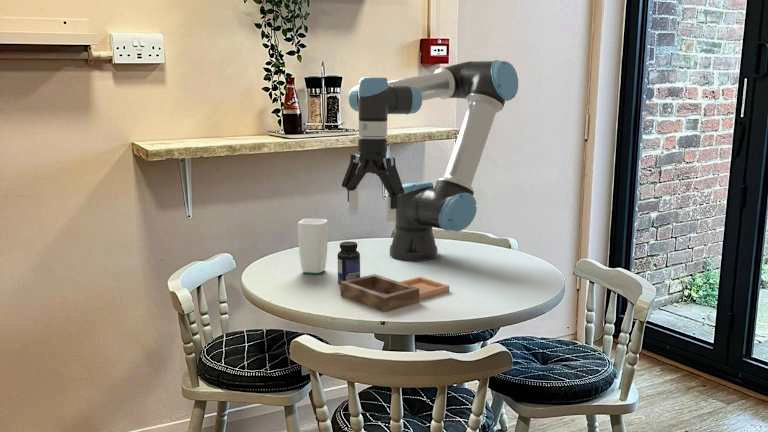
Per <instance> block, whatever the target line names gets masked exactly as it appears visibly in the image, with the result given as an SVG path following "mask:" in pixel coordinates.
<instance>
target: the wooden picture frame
mask: <svg viewBox="0 0 768 432" xmlns="http://www.w3.org/2000/svg"><path fill="white" fill-rule="evenodd" d="M339 286H340V296H342V297H344V298H347V299H349V300H351V301H354V302H357V303H358V304H359V303H360V304H361V305H362V304H363V305H365V306H367V307H370V308H373V309H374V310H375V309H376V310H377V311H380V312H384V313H386V312H389V311H393V310H396V309H400V308H403V307H407V306H410V305H414V304H418V303H420V300H419V288H416V287H413V286H410V285H407V284H404V283H401V281H398V280H396V279H391V278H388V277H385V276H381V275H378V274H376V273H374V274H373V273H372V274H370V275H365V276H360V278H356V279H352V280H348V281H343V282H340V283H339ZM375 290H376V291H375ZM380 292H381V293H380ZM383 293H384V294H383Z"/></svg>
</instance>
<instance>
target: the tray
mask: <svg viewBox="0 0 768 432" xmlns="http://www.w3.org/2000/svg"><path fill="white" fill-rule="evenodd" d="M400 282H401V283H404V284H407V285H410V286H413V287H416V288H419V301H421V300H425V299H429V298H432V297H436V296H439V295H442V294H445V293H449V292H450V285H448V284H446V283H442V282H439V281H435V280H432V279H429V278H426V277H422V276H418V277H413V278H409V279H406V280H402V281H400Z"/></svg>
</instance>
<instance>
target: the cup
mask: <svg viewBox="0 0 768 432" xmlns="http://www.w3.org/2000/svg"><path fill="white" fill-rule="evenodd" d="M328 222H329V221H328V220H327V219H326V218H303V219H301V220H299V221H298V222H297V232H298V235H297V237H298V238H297V239H298V251H299V252H298V253H299V261H300V267H301V272H303V273H305V274H314V275H315V274H316V275H317V274H321V273H323V272H324V270H325V269H326V264H327V257H328V243H329V242H328V239H329V238H328V235H329V234H328V233H329V232H328V230H329V229H328V228H329V227H328Z"/></svg>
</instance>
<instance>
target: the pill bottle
mask: <svg viewBox="0 0 768 432" xmlns="http://www.w3.org/2000/svg"><path fill="white" fill-rule="evenodd" d="M339 248H340V251H338V253H337V283H338V284H340V282H343V281H348V280H352V279H356V278H360V277H361V253H360V252H359V251H358V250H357V249H358V242H356V241H342V242H340V243H339Z"/></svg>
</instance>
